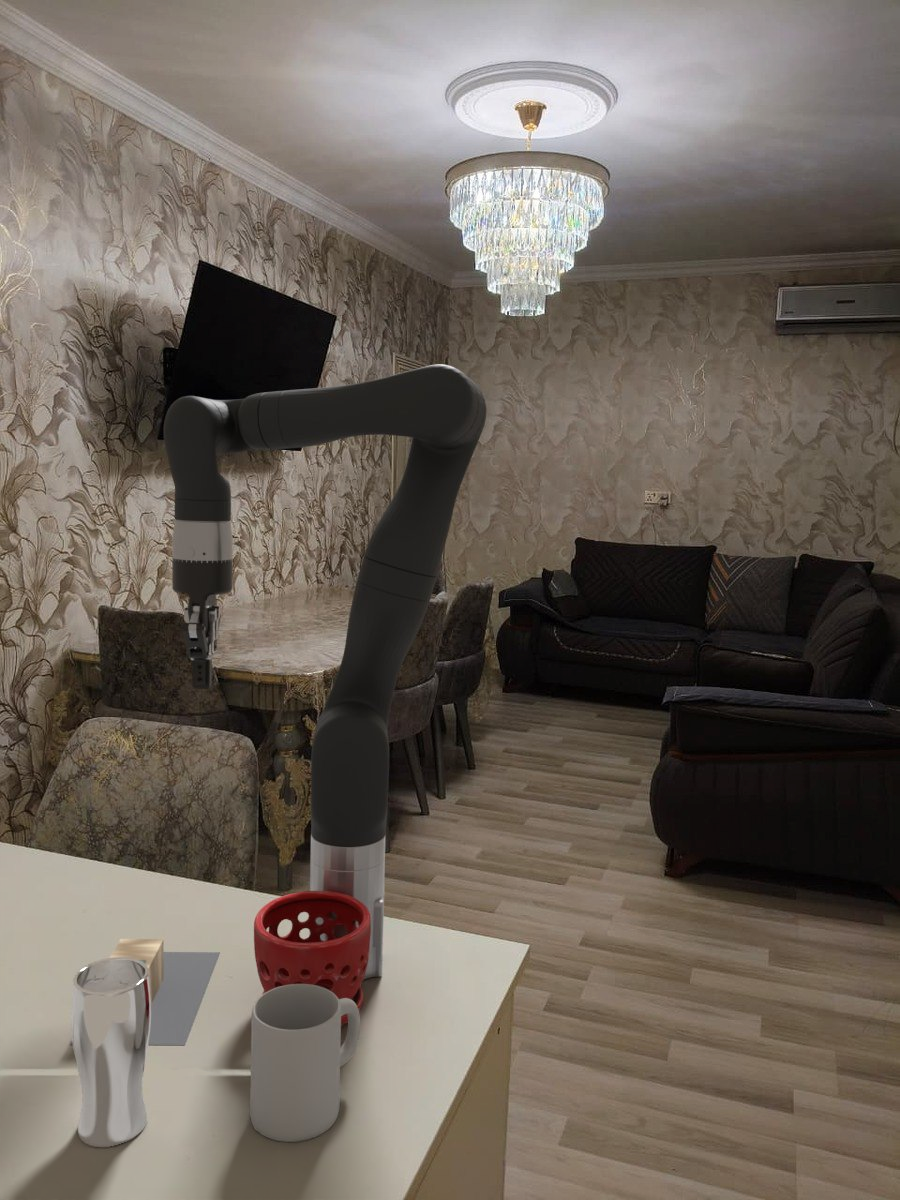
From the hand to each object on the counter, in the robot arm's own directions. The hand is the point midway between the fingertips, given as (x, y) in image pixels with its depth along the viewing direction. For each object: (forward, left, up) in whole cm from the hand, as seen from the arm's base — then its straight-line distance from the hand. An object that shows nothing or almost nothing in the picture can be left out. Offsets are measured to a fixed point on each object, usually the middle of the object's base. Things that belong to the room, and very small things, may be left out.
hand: (202, 687), depth 124 cm
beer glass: (0, +40, -33) cm, 52 cm away
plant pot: (-17, +21, -33) cm, 43 cm away
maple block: (+4, +14, -30) cm, 34 cm away
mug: (-18, +37, -33) cm, 53 cm away
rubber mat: (+2, +18, -33) cm, 38 cm away
